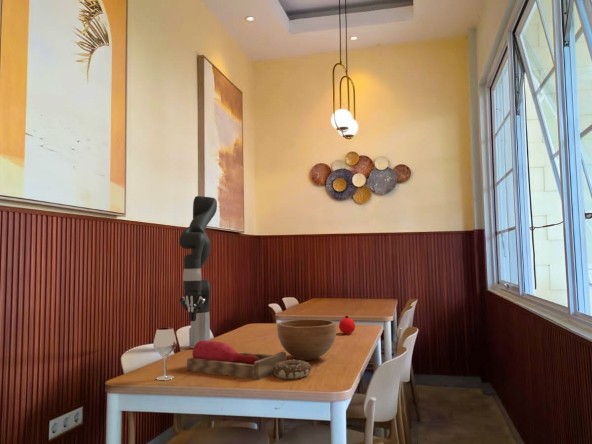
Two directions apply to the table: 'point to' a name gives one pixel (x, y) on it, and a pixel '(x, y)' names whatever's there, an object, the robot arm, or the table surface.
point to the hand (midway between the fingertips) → (192, 321)
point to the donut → (291, 369)
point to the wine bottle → (220, 353)
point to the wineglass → (165, 346)
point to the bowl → (307, 337)
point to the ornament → (347, 325)
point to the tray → (238, 366)
